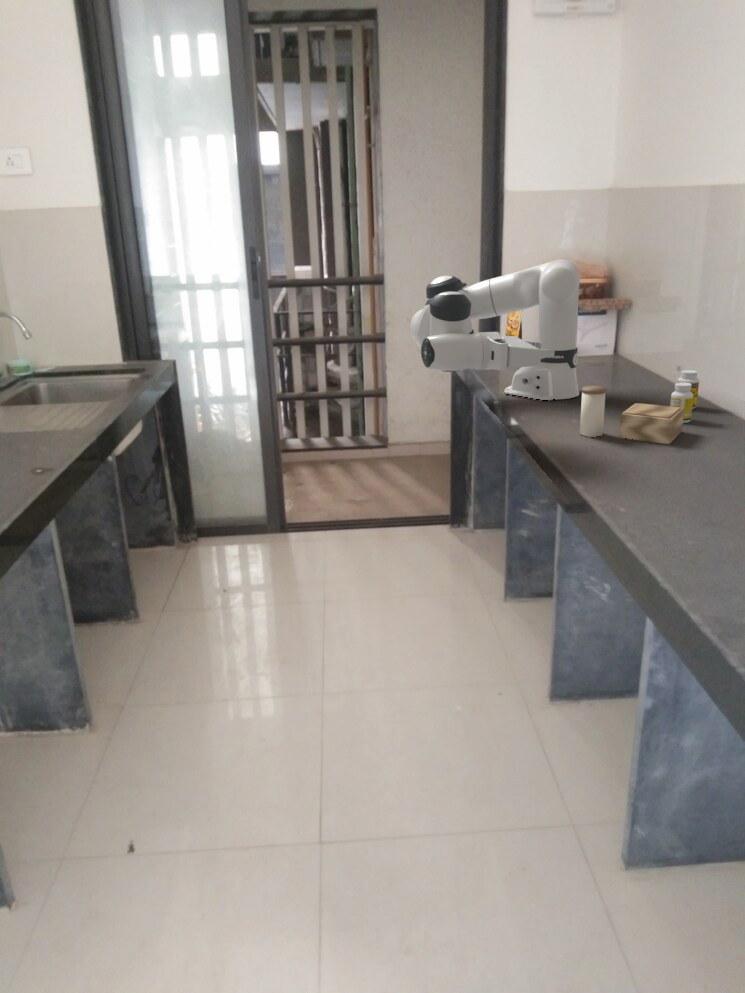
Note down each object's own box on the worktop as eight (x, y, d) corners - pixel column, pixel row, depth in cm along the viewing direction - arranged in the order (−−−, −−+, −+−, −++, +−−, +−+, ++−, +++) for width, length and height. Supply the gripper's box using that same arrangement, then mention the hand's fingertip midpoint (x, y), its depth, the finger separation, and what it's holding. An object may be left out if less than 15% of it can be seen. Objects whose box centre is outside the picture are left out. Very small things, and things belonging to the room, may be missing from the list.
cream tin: (575, 435, 194) (578, 389, 190) (584, 430, 199) (586, 384, 194) (598, 438, 191) (601, 391, 187) (606, 432, 195) (609, 386, 191)
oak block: (618, 437, 191) (620, 412, 189) (633, 425, 200) (635, 402, 198) (668, 444, 184) (671, 418, 182) (681, 431, 194) (684, 407, 191)
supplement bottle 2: (690, 418, 204) (694, 382, 201) (691, 423, 200) (695, 386, 196) (668, 417, 206) (672, 381, 203) (668, 423, 201) (672, 385, 198)
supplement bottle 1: (687, 411, 211) (691, 374, 207) (670, 407, 215) (674, 371, 212) (700, 408, 214) (704, 371, 210) (683, 404, 218) (686, 368, 215)
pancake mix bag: (517, 348, 310) (519, 275, 300) (528, 356, 292) (530, 280, 282) (500, 348, 310) (502, 276, 300) (510, 357, 292) (512, 281, 282)
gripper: (478, 356, 195) (531, 354, 196) (501, 372, 176) (560, 370, 177) (479, 330, 192) (533, 329, 194) (503, 344, 174) (562, 342, 175)
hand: (546, 349), depth 186 cm, fingers open, 8 cm apart
